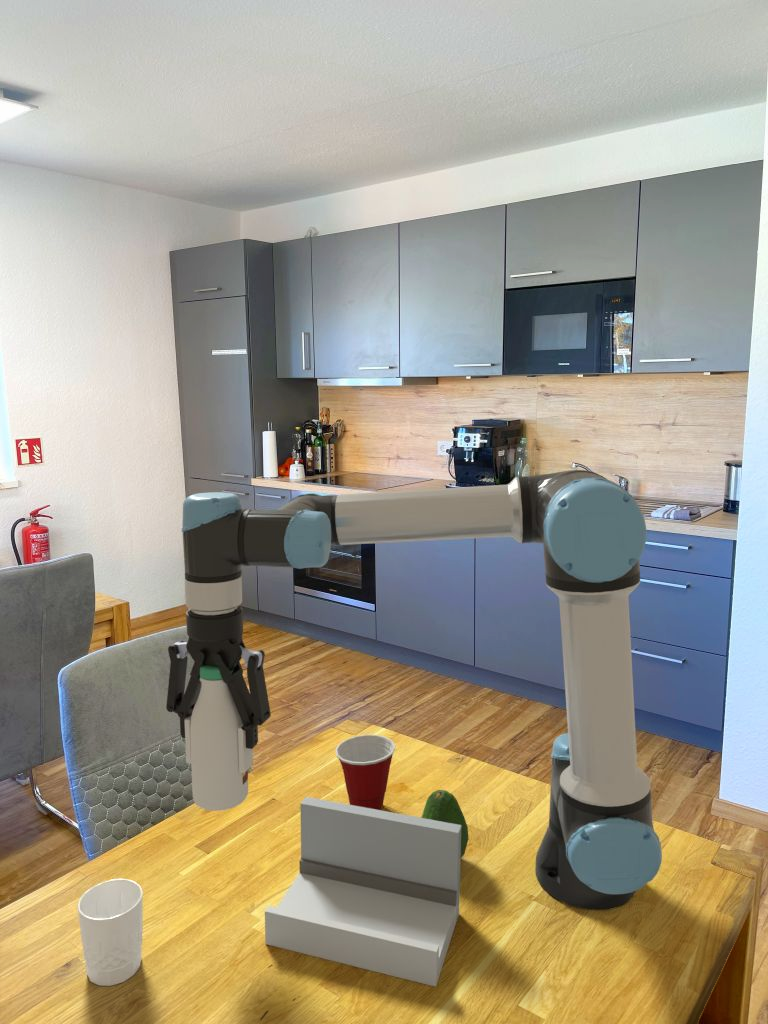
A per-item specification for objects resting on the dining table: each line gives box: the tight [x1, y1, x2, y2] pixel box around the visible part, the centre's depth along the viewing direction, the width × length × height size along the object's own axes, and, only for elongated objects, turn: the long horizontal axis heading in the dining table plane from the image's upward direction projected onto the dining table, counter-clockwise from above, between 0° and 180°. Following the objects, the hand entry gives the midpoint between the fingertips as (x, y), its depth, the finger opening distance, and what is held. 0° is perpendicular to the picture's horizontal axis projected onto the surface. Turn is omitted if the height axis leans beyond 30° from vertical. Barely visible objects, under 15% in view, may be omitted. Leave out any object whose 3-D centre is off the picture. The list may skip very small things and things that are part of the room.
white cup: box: [77, 878, 144, 987], centre depth 98 cm, size 8×8×10 cm
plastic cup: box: [334, 734, 396, 811], centre depth 135 cm, size 11×11×12 cm
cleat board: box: [264, 796, 462, 988], centre depth 105 cm, size 24×14×14 cm, turn 72°
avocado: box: [421, 789, 469, 860], centre depth 120 cm, size 8×8×12 cm
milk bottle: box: [190, 665, 249, 812], centre depth 105 cm, size 8×8×20 cm
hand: (219, 763), depth 106 cm, fingers closed on milk bottle, 8 cm apart
